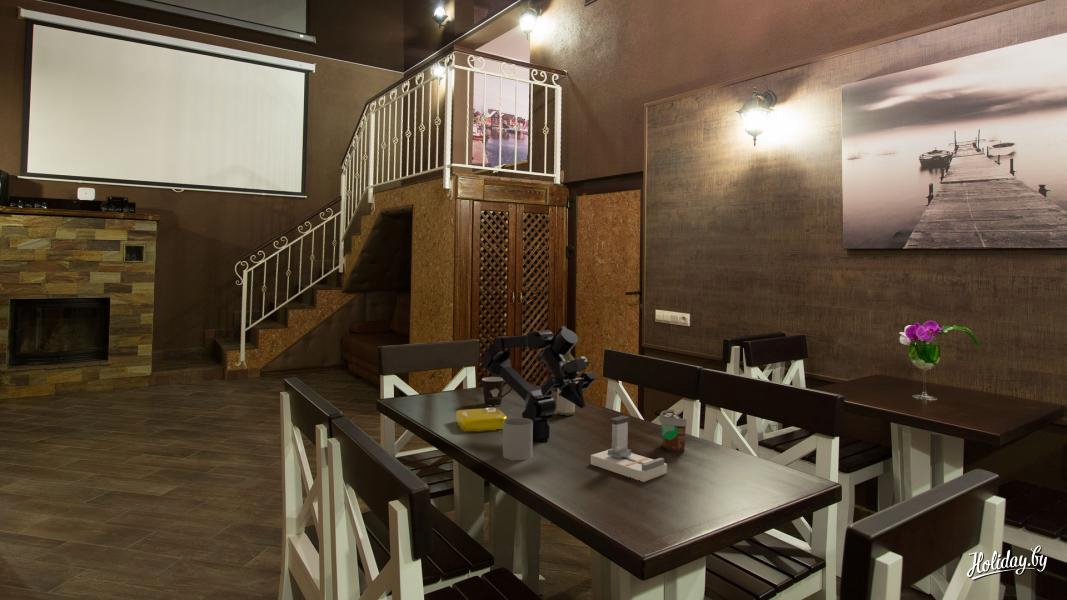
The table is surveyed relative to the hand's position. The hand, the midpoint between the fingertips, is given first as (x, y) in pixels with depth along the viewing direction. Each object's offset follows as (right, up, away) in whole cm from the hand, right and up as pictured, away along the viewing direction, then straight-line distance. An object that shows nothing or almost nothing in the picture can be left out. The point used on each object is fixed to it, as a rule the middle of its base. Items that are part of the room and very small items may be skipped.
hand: (583, 407), depth 172 cm
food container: (+27, -14, +8) cm, 31 cm away
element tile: (-32, -12, +31) cm, 47 cm away
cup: (-19, -14, -2) cm, 24 cm away
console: (+11, -14, -12) cm, 21 cm away
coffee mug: (-29, -10, +61) cm, 68 cm away
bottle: (-3, -11, +47) cm, 48 cm away
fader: (+9, -11, -9) cm, 17 cm away
